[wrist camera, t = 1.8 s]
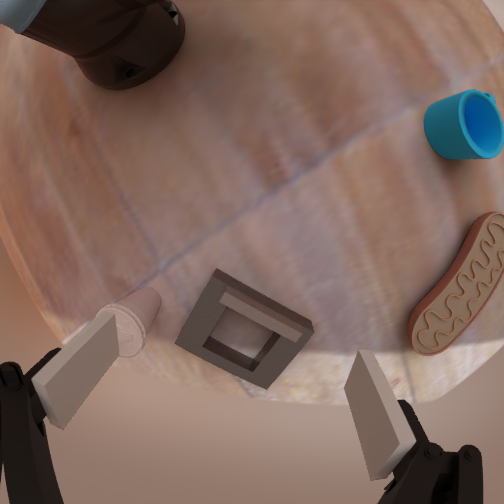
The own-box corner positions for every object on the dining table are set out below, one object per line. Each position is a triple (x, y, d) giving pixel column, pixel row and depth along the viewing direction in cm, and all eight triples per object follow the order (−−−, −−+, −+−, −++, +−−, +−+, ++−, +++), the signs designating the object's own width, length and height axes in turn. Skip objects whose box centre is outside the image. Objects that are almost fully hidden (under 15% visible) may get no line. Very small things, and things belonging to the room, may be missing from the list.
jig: (180, 332, 38) (170, 351, 33) (216, 268, 35) (208, 282, 30) (267, 376, 39) (266, 399, 34) (311, 320, 36) (316, 340, 32)
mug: (449, 171, 30) (486, 173, 22) (413, 124, 29) (447, 113, 21) (485, 122, 28) (520, 116, 20) (453, 78, 27) (485, 63, 19)
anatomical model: (475, 194, 31) (496, 198, 26) (503, 235, 32) (522, 243, 27) (386, 321, 36) (399, 339, 31) (422, 349, 37) (436, 367, 32)
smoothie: (125, 275, 36) (66, 321, 23) (168, 278, 36) (119, 331, 22) (131, 317, 38) (82, 373, 24) (172, 322, 38) (132, 386, 24)
